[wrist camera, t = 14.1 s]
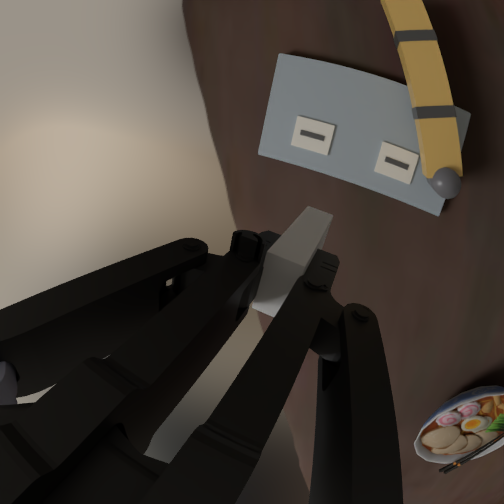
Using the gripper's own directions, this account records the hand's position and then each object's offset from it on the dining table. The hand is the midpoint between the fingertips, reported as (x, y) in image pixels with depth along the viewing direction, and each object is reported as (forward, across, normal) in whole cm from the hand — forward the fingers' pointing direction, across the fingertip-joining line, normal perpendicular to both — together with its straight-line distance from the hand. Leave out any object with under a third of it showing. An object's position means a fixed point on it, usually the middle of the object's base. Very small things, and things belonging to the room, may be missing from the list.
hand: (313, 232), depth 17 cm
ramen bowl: (+22, +38, -28) cm, 52 cm away
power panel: (+20, 0, +6) cm, 21 cm away
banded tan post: (+18, +6, +13) cm, 23 cm away
